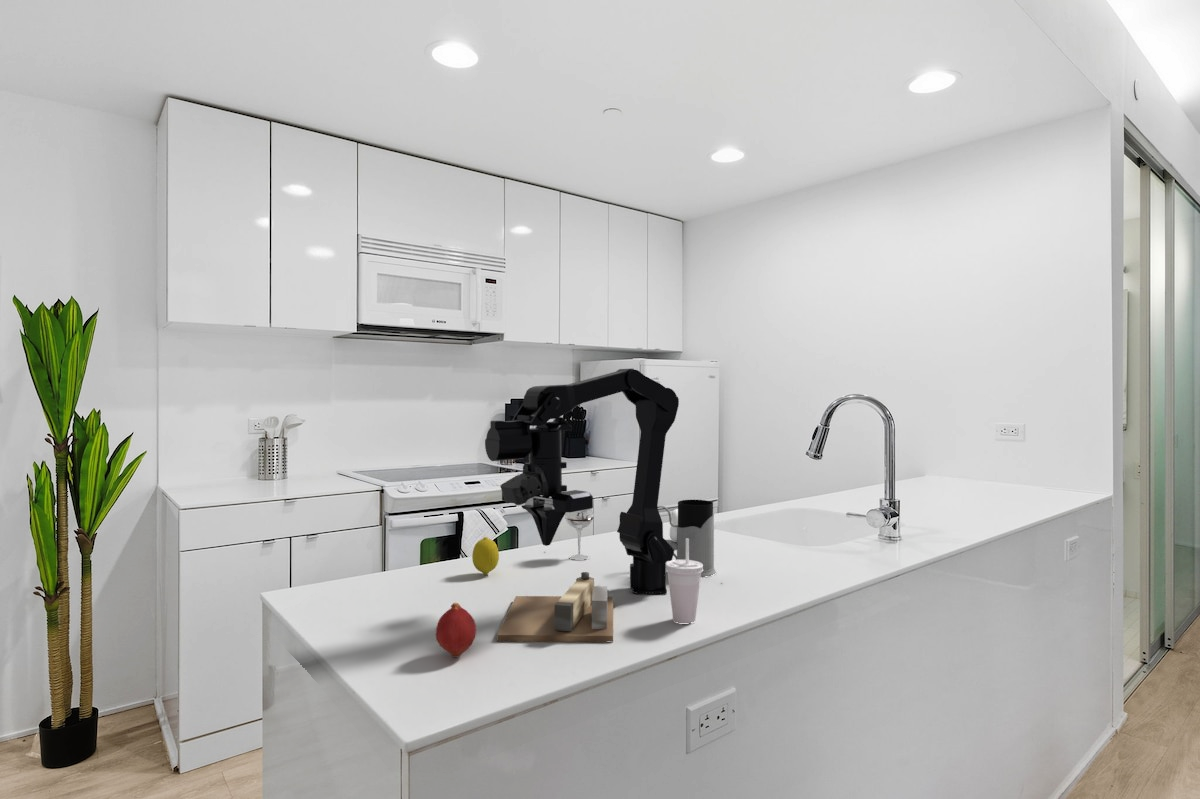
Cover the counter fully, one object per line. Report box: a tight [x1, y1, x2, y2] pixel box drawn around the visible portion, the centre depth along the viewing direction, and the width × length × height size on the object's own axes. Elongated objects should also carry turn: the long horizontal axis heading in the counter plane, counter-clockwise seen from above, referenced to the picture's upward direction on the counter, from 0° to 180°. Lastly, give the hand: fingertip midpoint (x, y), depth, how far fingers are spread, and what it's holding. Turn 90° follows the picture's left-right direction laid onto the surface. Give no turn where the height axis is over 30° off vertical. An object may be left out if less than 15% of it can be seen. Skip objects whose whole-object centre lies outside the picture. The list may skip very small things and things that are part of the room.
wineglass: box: [564, 508, 595, 561], centre depth 159 cm, size 7×7×12 cm
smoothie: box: [665, 538, 703, 623], centre depth 115 cm, size 6×6×14 cm
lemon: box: [471, 536, 500, 576], centre depth 144 cm, size 6×6×8 cm
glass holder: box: [658, 499, 717, 578], centre depth 147 cm, size 9×14×15 cm, turn 68°
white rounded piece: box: [669, 508, 716, 543], centre depth 173 cm, size 11×12×9 cm
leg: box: [555, 576, 595, 631], centre depth 115 cm, size 17×3×4 cm, turn 168°
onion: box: [435, 602, 477, 658], centre depth 100 cm, size 6×6×8 cm
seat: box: [496, 571, 614, 643], centre depth 116 cm, size 18×20×6 cm
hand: (546, 545), depth 121 cm, fingers closed
